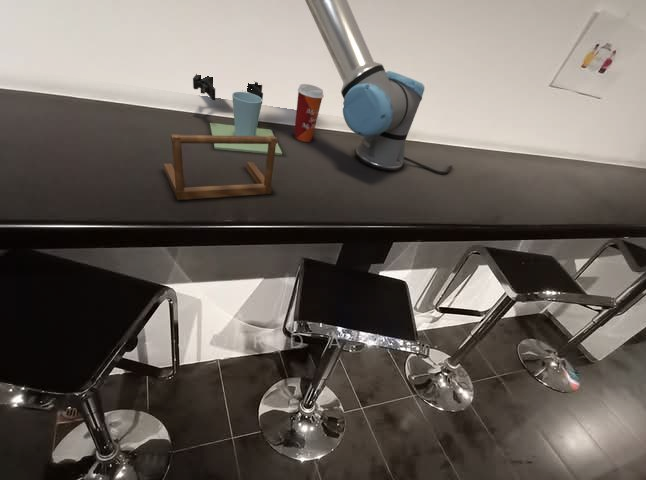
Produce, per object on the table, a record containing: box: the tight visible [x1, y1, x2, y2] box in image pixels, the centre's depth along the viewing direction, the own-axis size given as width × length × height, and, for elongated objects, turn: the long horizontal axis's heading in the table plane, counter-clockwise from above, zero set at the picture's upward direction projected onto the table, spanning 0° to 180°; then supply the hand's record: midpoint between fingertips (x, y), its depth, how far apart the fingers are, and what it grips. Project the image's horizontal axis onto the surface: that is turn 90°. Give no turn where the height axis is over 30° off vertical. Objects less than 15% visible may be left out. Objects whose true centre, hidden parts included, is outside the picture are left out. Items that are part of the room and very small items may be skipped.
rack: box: [163, 133, 278, 201], centre depth 73 cm, size 21×12×13 cm, turn 119°
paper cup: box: [293, 83, 325, 143], centre depth 102 cm, size 8×8×14 cm
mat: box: [209, 122, 283, 156], centre depth 97 cm, size 18×16×1 cm
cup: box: [231, 91, 263, 136], centre depth 93 cm, size 8×8×10 cm
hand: (238, 96), depth 94 cm, fingers open, 13 cm apart
